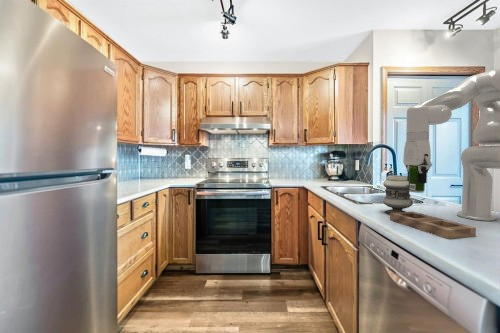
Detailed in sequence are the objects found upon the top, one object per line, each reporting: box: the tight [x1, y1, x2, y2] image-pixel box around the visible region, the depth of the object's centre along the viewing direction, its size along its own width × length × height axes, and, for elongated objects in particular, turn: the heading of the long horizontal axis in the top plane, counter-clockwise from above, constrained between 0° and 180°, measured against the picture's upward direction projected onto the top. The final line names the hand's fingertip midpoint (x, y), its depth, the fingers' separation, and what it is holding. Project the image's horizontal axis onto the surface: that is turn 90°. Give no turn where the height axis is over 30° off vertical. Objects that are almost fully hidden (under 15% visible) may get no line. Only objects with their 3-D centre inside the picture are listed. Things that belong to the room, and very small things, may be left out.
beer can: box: [408, 164, 426, 194], centre depth 98 cm, size 5×5×12 cm
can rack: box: [389, 211, 477, 240], centre depth 93 cm, size 24×12×3 cm, turn 14°
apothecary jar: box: [382, 174, 414, 215], centre depth 114 cm, size 12×12×18 cm
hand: (416, 181), depth 98 cm, fingers closed on beer can, 5 cm apart
